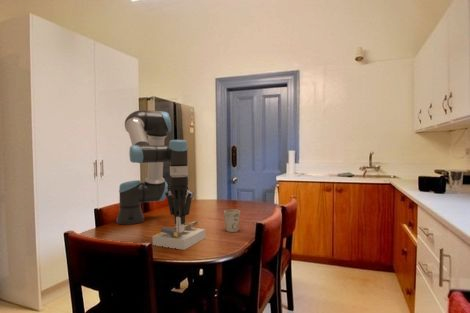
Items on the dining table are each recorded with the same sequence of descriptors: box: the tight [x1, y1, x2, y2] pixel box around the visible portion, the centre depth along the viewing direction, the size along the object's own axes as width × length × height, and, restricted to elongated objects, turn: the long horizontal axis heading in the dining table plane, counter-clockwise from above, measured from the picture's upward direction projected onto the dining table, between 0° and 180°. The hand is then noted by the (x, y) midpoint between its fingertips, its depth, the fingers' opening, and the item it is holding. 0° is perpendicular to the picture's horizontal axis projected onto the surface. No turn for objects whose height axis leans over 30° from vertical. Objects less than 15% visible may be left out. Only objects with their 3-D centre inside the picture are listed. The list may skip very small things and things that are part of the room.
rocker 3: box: [184, 220, 199, 228], centre depth 138 cm, size 9×4×1 cm, turn 67°
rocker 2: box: [171, 224, 192, 230], centre depth 132 cm, size 9×4×1 cm, turn 67°
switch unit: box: [152, 225, 206, 251], centre depth 132 cm, size 16×18×5 cm
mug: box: [223, 208, 241, 233], centre depth 152 cm, size 8×13×10 cm, turn 27°
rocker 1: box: [160, 225, 184, 237], centre depth 126 cm, size 9×4×1 cm, turn 67°
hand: (180, 231), depth 125 cm, fingers closed
